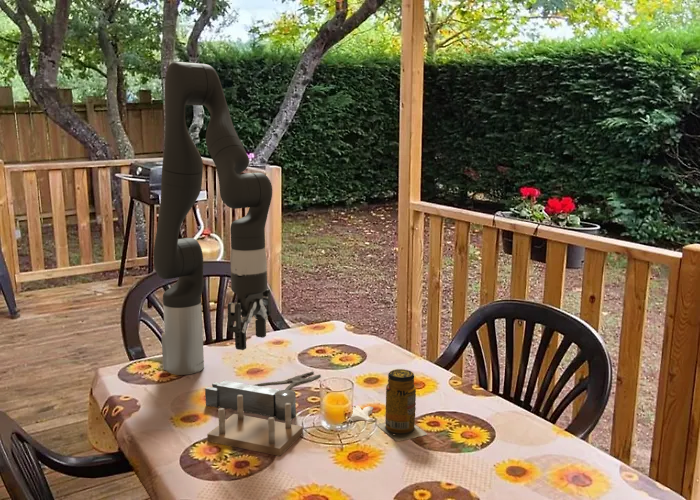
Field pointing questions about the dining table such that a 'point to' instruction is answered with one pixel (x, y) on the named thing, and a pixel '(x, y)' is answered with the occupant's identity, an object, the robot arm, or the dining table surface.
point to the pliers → (293, 380)
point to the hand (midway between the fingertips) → (251, 342)
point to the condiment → (401, 406)
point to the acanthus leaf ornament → (362, 414)
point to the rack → (255, 431)
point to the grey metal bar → (251, 398)
